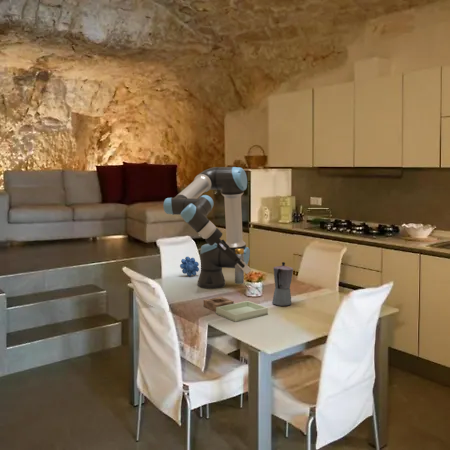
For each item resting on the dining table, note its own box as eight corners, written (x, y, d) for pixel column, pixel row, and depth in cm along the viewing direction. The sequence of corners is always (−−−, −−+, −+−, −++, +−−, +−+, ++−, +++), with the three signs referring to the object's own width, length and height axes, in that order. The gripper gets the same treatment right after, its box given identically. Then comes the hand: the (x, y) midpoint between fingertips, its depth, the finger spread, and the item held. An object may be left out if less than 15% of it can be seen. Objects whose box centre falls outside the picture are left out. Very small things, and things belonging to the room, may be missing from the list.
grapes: (181, 278, 287) (181, 258, 286) (179, 276, 294) (178, 256, 292) (201, 277, 291) (201, 257, 290) (198, 274, 298) (197, 255, 296)
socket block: (220, 302, 237) (220, 296, 237) (233, 307, 229) (233, 301, 229) (203, 306, 231) (203, 300, 231) (215, 311, 223) (215, 305, 223)
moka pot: (295, 301, 240) (296, 260, 238) (288, 309, 226) (289, 266, 224) (276, 299, 244) (276, 259, 241) (268, 307, 229) (268, 265, 227)
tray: (247, 307, 230) (247, 300, 230) (267, 314, 219) (267, 307, 219) (216, 313, 220) (216, 307, 219) (235, 321, 208) (235, 315, 208)
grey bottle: (240, 281, 220) (240, 248, 219) (245, 283, 217) (245, 249, 216) (233, 282, 218) (233, 248, 216) (238, 284, 215) (238, 250, 213)
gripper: (203, 237, 222) (239, 272, 226) (205, 242, 206) (244, 281, 209) (215, 225, 222) (251, 261, 226) (218, 229, 206) (257, 268, 209)
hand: (248, 270), depth 217 cm, fingers closed on grey bottle, 4 cm apart
